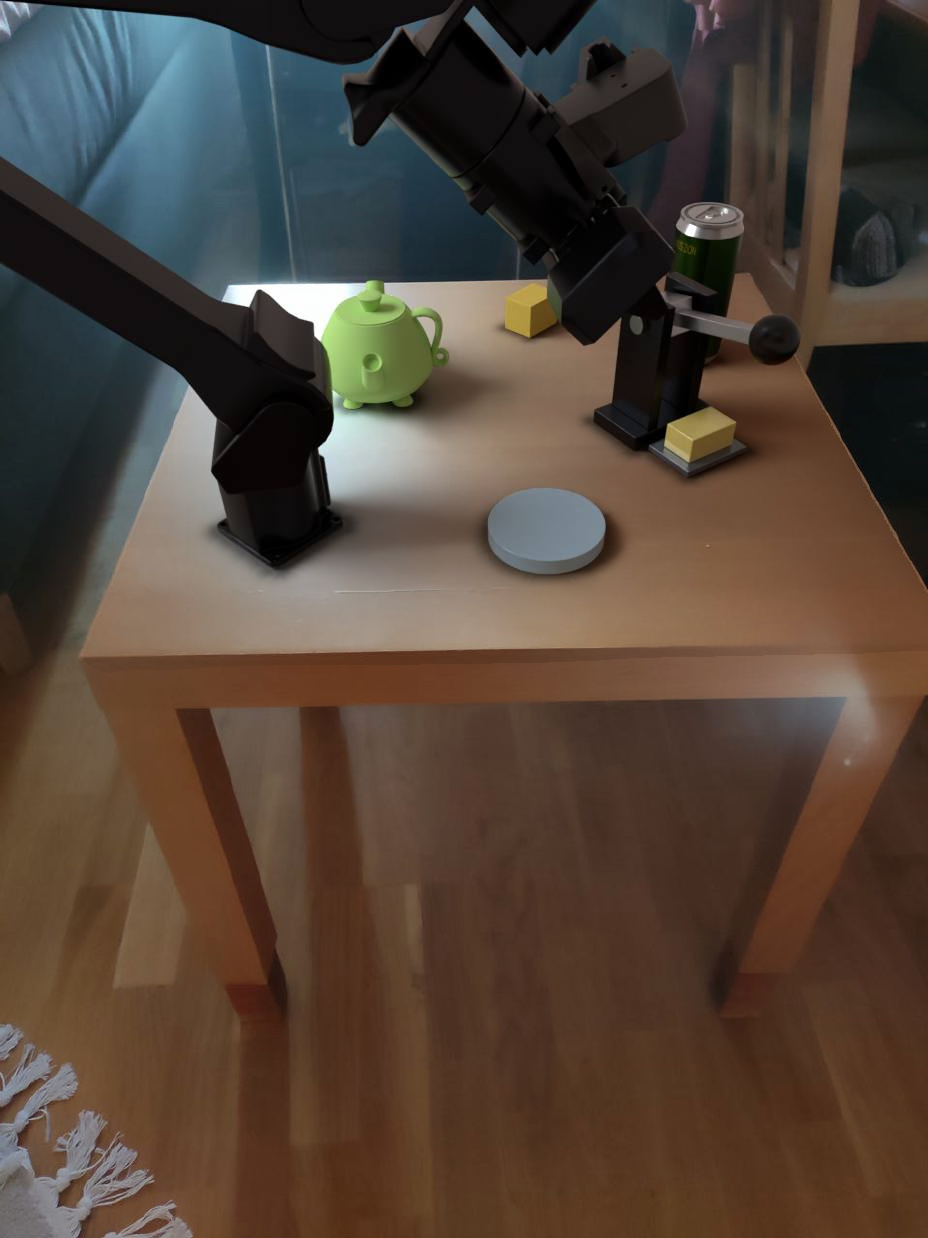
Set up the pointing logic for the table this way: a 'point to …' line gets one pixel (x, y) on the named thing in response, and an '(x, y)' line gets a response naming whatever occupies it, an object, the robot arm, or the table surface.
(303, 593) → the table surface
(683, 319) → the arm
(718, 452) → the butter dish
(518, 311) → the butter pat
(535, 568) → the plate
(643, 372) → the cutter
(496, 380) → the table surface
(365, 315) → the teapot
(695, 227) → the beer can
